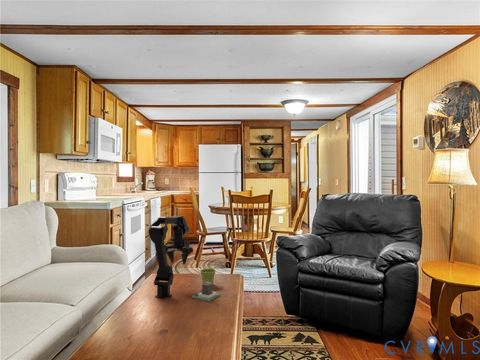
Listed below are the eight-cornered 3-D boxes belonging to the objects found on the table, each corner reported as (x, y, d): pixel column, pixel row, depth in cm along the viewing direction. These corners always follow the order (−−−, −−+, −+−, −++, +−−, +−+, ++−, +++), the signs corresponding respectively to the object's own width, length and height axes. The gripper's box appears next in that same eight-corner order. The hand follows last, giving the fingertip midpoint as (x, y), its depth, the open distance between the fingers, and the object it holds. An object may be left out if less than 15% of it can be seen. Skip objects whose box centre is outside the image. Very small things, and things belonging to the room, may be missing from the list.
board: (208, 301, 180) (208, 297, 180) (191, 297, 185) (191, 293, 185) (219, 295, 188) (219, 291, 188) (203, 292, 194) (203, 288, 194)
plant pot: (198, 283, 210) (198, 269, 210) (213, 282, 213) (213, 267, 213) (201, 288, 201) (201, 273, 201) (217, 286, 204) (217, 271, 204)
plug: (208, 296, 184) (208, 284, 184) (202, 295, 186) (202, 283, 186) (212, 294, 187) (212, 282, 187) (206, 293, 189) (206, 281, 189)
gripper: (199, 236, 207) (199, 262, 207) (175, 233, 217) (175, 258, 217) (186, 239, 198) (186, 266, 198) (162, 236, 208) (162, 262, 208)
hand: (178, 263), depth 206 cm, fingers open, 9 cm apart
